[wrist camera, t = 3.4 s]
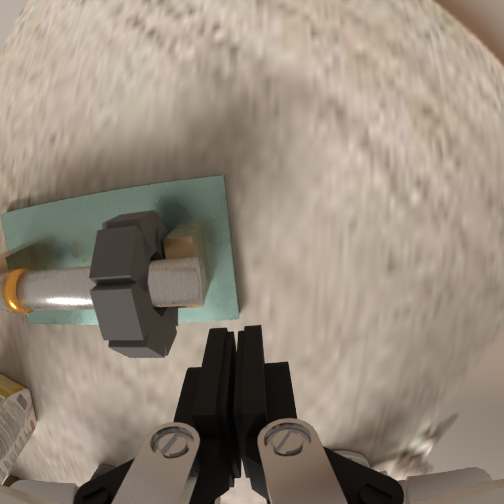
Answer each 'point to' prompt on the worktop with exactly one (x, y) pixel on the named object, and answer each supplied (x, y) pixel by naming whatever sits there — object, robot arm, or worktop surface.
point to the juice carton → (14, 422)
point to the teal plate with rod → (83, 241)
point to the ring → (131, 286)
